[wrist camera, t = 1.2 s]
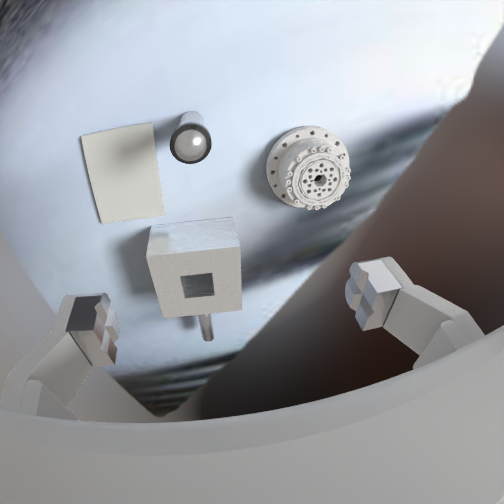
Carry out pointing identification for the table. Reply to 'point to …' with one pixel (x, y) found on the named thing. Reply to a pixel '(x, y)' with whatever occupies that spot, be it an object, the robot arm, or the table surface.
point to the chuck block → (196, 269)
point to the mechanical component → (308, 168)
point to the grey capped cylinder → (190, 139)
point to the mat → (124, 173)
